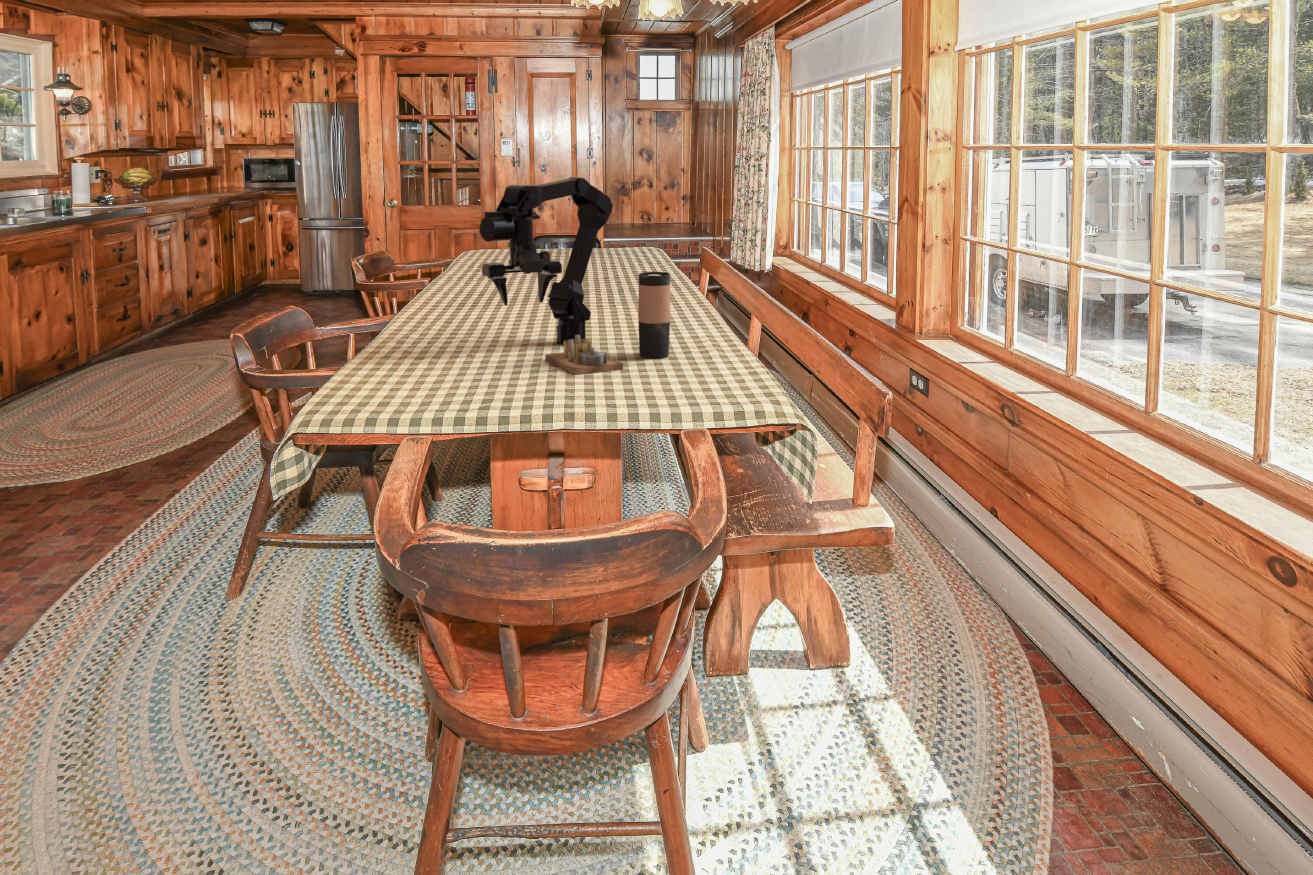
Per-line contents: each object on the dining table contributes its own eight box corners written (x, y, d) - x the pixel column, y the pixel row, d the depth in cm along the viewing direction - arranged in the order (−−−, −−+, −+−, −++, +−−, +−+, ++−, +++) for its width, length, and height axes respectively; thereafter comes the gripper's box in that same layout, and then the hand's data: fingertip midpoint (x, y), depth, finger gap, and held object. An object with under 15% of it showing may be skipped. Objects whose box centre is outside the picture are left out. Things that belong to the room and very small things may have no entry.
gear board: (590, 355, 234) (590, 329, 232) (622, 369, 220) (622, 341, 218) (545, 360, 228) (544, 333, 227) (575, 375, 214) (574, 346, 212)
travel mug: (669, 352, 238) (669, 271, 232) (670, 359, 231) (671, 275, 225) (638, 352, 238) (638, 271, 232) (638, 359, 230) (638, 275, 225)
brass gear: (585, 352, 231) (584, 338, 230) (597, 357, 225) (597, 342, 224) (558, 355, 228) (558, 340, 227) (570, 360, 222) (570, 345, 221)
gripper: (496, 243, 219) (498, 311, 223) (570, 240, 227) (572, 305, 232) (479, 239, 228) (482, 305, 233) (552, 236, 237) (553, 299, 241)
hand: (523, 304), depth 234 cm, fingers open, 9 cm apart
